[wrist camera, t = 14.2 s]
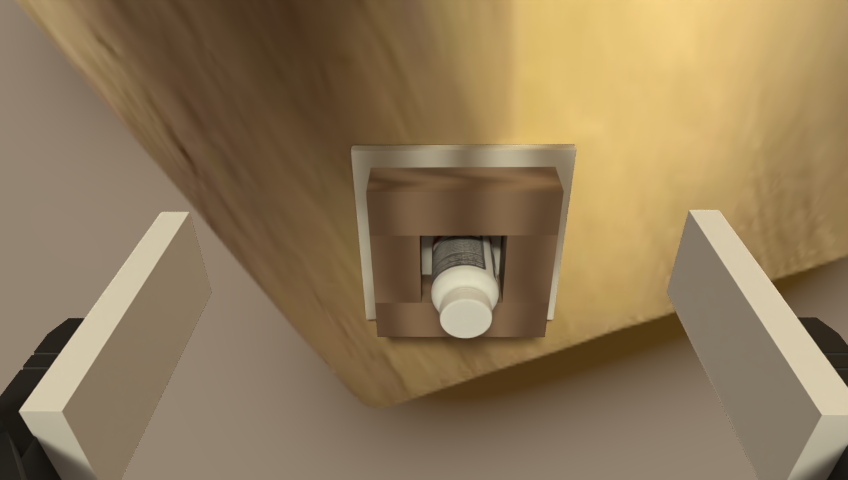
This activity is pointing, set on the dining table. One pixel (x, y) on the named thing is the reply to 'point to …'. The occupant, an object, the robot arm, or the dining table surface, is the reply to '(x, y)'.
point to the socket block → (461, 228)
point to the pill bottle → (464, 283)
